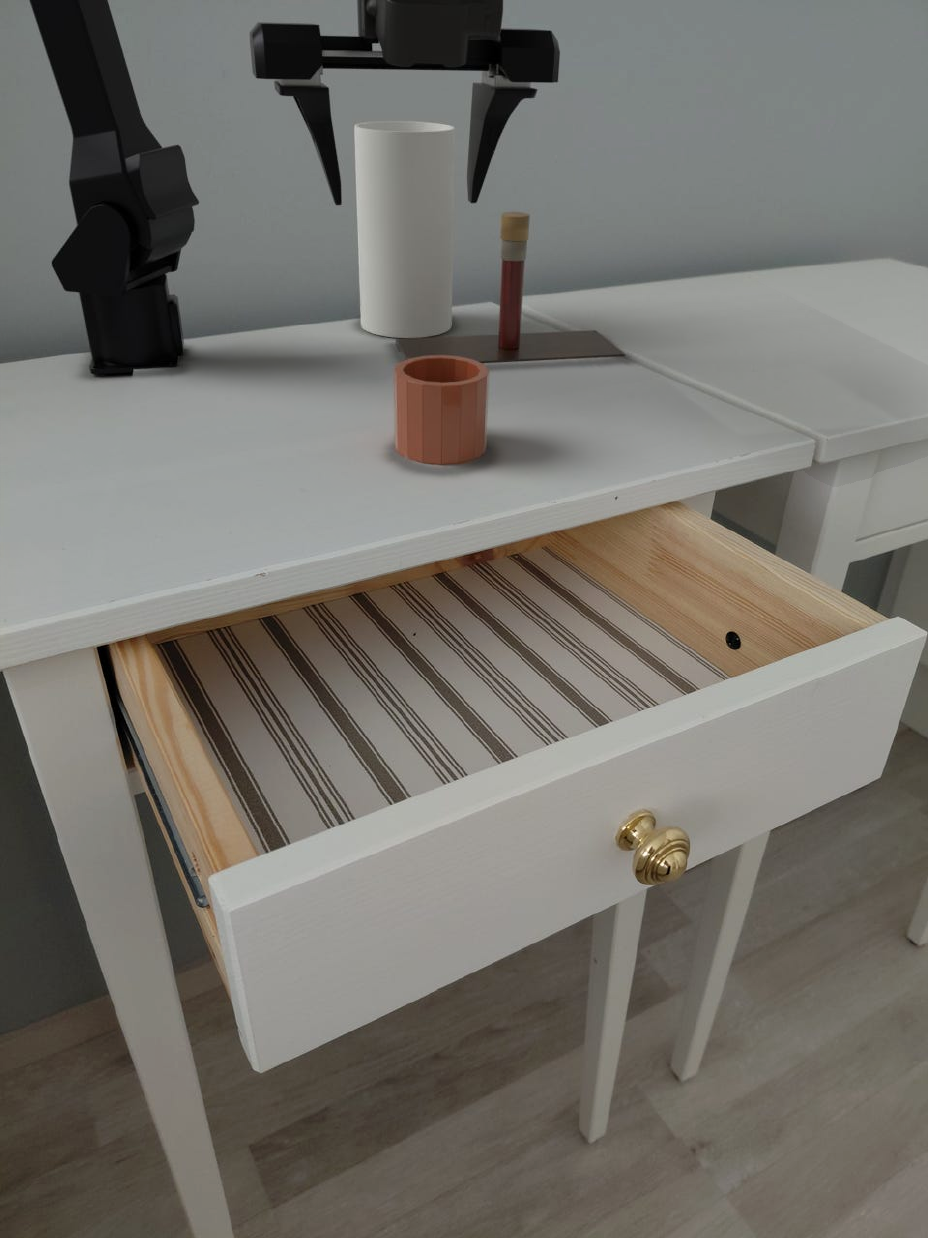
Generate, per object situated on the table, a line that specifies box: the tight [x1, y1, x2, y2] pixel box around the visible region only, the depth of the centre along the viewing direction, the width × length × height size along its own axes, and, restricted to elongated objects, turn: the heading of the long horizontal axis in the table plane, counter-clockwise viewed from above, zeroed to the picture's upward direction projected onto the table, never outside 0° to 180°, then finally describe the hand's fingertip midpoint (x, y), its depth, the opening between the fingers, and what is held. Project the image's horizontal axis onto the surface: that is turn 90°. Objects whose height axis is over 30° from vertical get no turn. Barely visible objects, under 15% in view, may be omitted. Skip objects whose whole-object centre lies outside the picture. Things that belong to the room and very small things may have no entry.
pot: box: [393, 355, 490, 466], centre depth 59 cm, size 6×6×6 cm
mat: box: [395, 329, 626, 364], centre depth 78 cm, size 18×7×1 cm, turn 103°
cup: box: [353, 120, 456, 339], centre depth 80 cm, size 8×8×16 cm
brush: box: [498, 211, 531, 350], centre depth 75 cm, size 2×2×10 cm
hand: (406, 203), depth 63 cm, fingers open, 9 cm apart
